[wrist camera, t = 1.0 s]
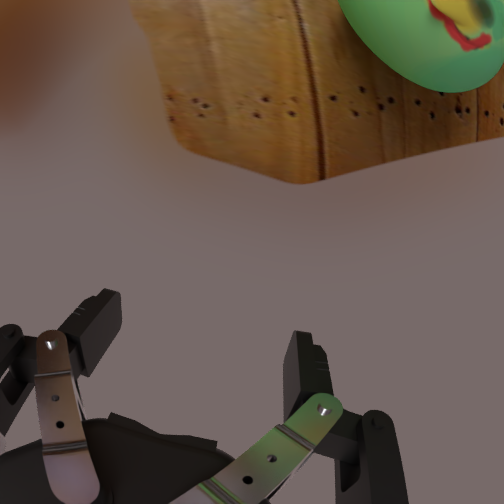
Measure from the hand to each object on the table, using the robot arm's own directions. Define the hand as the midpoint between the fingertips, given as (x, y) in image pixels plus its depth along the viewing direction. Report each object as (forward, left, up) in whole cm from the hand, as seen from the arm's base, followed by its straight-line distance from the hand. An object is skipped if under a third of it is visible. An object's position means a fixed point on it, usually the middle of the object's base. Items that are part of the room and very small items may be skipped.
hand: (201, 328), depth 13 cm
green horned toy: (-19, +16, -27) cm, 37 cm away
